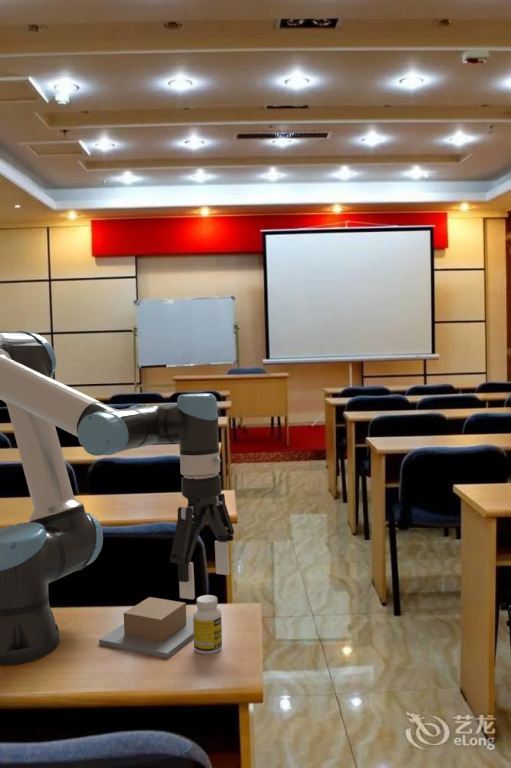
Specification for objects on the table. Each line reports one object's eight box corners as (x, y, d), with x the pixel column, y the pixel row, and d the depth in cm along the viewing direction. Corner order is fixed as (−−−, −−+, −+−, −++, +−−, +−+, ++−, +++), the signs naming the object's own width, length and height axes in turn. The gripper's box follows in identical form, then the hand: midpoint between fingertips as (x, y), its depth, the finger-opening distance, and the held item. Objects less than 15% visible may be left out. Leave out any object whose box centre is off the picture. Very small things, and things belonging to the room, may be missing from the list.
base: (99, 644, 126) (98, 617, 126) (146, 613, 140) (145, 589, 140) (167, 658, 119) (166, 629, 119) (209, 624, 133) (208, 599, 133)
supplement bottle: (218, 656, 119) (216, 604, 119) (190, 654, 121) (188, 603, 120) (225, 643, 125) (223, 594, 124) (198, 641, 126) (197, 592, 125)
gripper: (182, 489, 108) (188, 612, 109) (247, 464, 130) (252, 566, 131) (146, 487, 111) (152, 606, 112) (215, 463, 134) (220, 563, 134)
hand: (206, 585), depth 122 cm, fingers open, 13 cm apart
